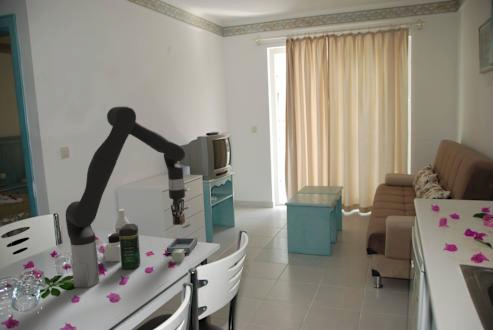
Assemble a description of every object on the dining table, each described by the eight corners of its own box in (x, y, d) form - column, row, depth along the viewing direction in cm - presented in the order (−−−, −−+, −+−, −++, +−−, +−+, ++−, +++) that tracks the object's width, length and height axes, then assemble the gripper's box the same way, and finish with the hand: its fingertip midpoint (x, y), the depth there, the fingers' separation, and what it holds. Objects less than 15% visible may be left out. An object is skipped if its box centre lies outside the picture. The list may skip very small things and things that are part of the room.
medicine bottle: (126, 256, 189) (124, 231, 188) (120, 261, 182) (118, 236, 181) (112, 256, 190) (109, 231, 188) (105, 261, 183) (103, 236, 181)
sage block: (182, 262, 179) (181, 252, 178) (172, 262, 179) (171, 252, 179) (184, 258, 183) (184, 249, 183) (175, 258, 184) (174, 249, 183)
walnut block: (182, 224, 189) (181, 215, 188) (173, 224, 190) (172, 215, 189) (184, 222, 193) (184, 213, 193) (175, 222, 194) (175, 213, 193)
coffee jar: (138, 269, 173) (135, 227, 170) (120, 270, 172) (116, 229, 169) (142, 261, 182) (139, 221, 180) (124, 262, 181) (121, 222, 179)
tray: (189, 254, 188) (189, 248, 188) (166, 254, 190) (166, 248, 189) (197, 243, 203) (196, 237, 203) (176, 243, 204) (175, 237, 204)
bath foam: (123, 245, 205) (120, 207, 202) (134, 246, 202) (131, 208, 200) (114, 250, 198) (111, 211, 196) (126, 251, 196) (122, 211, 193)
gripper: (179, 190, 182) (182, 227, 184) (188, 184, 196) (190, 218, 198) (164, 191, 183) (166, 227, 185) (173, 185, 197) (175, 218, 199)
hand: (178, 222), depth 191 cm, fingers closed on walnut block, 4 cm apart
